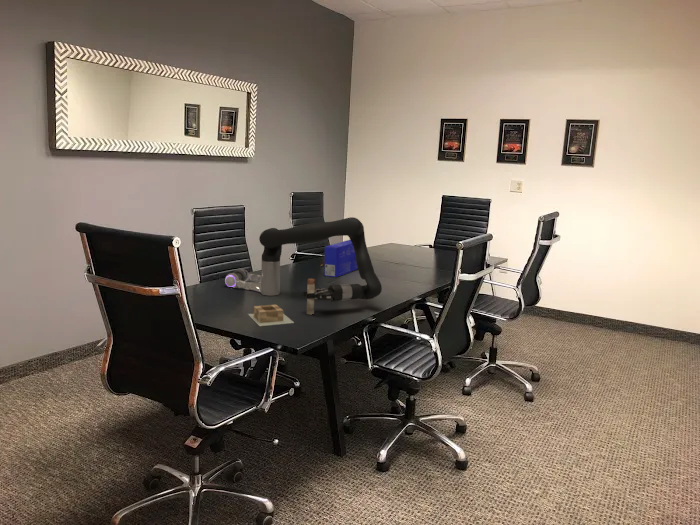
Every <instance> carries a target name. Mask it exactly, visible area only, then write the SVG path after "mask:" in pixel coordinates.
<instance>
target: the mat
mask: <svg viewBox="0 0 700 525" xmlns="http://www.w3.org/2000/svg"><path fill="white" fill-rule="evenodd" d="M247 315H248V316H249V317H250V318H251V319H252V320H253V321H254V322H255V323H256V324H257V325H258V326H259V327H265V326H277V325H286V324H294V323H295V322H294V321H293V320H292V319H291V318H290V317H288V316H287V315H286V314H285V313H283V321H276V322H265V323H260V322H259V321H258V320H257V319H256V318H255V317H254V313H247Z"/></svg>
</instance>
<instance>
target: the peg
mask: <svg viewBox="0 0 700 525" xmlns="http://www.w3.org/2000/svg"><path fill="white" fill-rule="evenodd" d="M315 285H316V279H315V278H308V279H307V285H306V286H307V290H306V291H307V294H308V293H315V288H316V286H315ZM306 314H307V315H309V316H310V315H312V314H315V298H311V299H307V298H306Z"/></svg>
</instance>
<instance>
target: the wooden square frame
mask: <svg viewBox="0 0 700 525" xmlns="http://www.w3.org/2000/svg"><path fill="white" fill-rule="evenodd" d="M253 314H254V317H255V318H256V319H257V320H258V321H259V322H260V323H265V322H276V321H283V314H285V313H284V310H283V308H281V307H280V306H278V305H277V304H266V305H254V306H253Z"/></svg>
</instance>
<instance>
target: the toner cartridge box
mask: <svg viewBox="0 0 700 525" xmlns="http://www.w3.org/2000/svg"><path fill="white" fill-rule="evenodd" d="M323 252H324V256H323V257H324V258H323V259H324V261H323V262H324V266H323V267H324V269H323V270H324V274H323V275H324V277H326V276H329V277H328V278H332V277H337V278H339V277H338V276H340V277H342V276H344V274H345V275H347V274H349V272H350V273H353V272H354V271H356V270H357V271H358V267H357V263H356V256H355V251H354V247H353V244H352V242H351V240H350V239H347V240H344V241H341V242H337V243H334V244H330V245H325V246H324V251H323ZM352 271H353V272H352ZM341 275H342V276H341Z"/></svg>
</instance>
